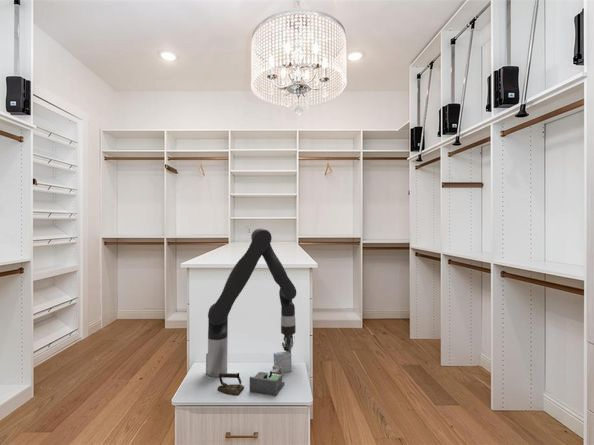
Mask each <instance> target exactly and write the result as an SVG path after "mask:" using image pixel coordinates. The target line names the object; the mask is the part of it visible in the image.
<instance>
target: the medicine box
mask: <svg viewBox="0 0 594 445" xmlns="http://www.w3.org/2000/svg"><path fill="white" fill-rule="evenodd" d="M273 366H278V367H282V373H283V374H284V373H290V372H292V352H291V353H290V352H289V351H281V352H273Z"/></svg>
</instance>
